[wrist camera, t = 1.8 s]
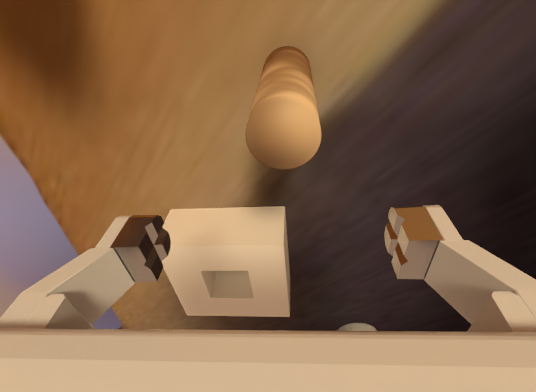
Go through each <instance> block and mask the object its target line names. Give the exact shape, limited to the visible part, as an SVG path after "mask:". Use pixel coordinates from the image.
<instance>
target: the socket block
mask: <svg viewBox="0 0 536 392" xmlns="http://www.w3.org/2000/svg"><path fill="white" fill-rule="evenodd" d="M162 228H163V229H165V230H166V231H168V233H169V236H170V240H171V245H170V251H169V254H168V256H167V257H166V258H165V259H164V260H162V264H163V268H164V270H165V272H166V274H167V276H168V278H169V280H170V282H171V284H172V286H173V288H174V290H175V292H176V294H177V296H178V298H179V300H180V302H181V304H182V306H183V308H184V310H185V312H186V314H187V315H191V316H258V317H290V270H289V256H288V242H287V229H286V215H285V206H273V207H235V208H198V209H171V210H170V212H169V214H168V216H167V218H166V220H165V222H164V225H163V227H162Z"/></svg>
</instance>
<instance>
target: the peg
mask: <svg viewBox="0 0 536 392" xmlns="http://www.w3.org/2000/svg"><path fill="white" fill-rule="evenodd" d="M246 142H247V146H248V148H249V150H250V152H251V153H252V155H253V156H254V157H255V158H256V159H257V160H258V161H259V162H261V163H262V164H264V165H266V166H269V167H271V168H275V169H291V168H295V167H298V166H301V165H303V164H304V163H306V162H307V161H309V160H310V159H311V158H312V157H313V156H314V154H315V153H316V152H317V150H318V148H319V145H320V142H321V128H320V122H319V116H318V110H317V104H316V99H315V93H314V87H313V81H312V75H311V69H310V64H309V61H308V59H307V57H306V56H305V54H304V53H303V52H302V51H300V50H299V49H297V48H295V47H290V46H285V47H280V48H278V49H276V50H274V51H273V52H272V53H271V54H270V55H269V56H268V57H267V59H266V61H265V64H264V67H263V71H262V74H261V78H260V81H259V85H258V88H257V92H256V95H255V99H254V103H253V106H252V110H251V113H250V117H249V120H248V124H247V128H246Z"/></svg>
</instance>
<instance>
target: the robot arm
mask: <svg viewBox="0 0 536 392" xmlns="http://www.w3.org/2000/svg"><path fill="white" fill-rule="evenodd" d="M388 217H389V220H390V223H389V224H387V225H386V228H385V244H386V248H387V251H388V253H390V254H391V255H392V256H393V259H392V265H393V268H394V271H395V273H396V276H397V279H425V280H424V281H425V282H427V283H428V284H429V285H430V286H431V287H432V288H433V289H434V290H435V291H436V292H437V293H438V294H439V295H440V296H442V297H443V298H444V299H445V300H446V301H447V302H448V303H449V304H450V305H451V306H452V307H453V308H454V309H455V310H457V311H458V312H459V313H460V314H461V315H462V316H463V317H464V318H465V319H466V320H467V321H468V322H469V323H470V324H472V325H471V327H470V328H469V330H468V331H467V332H442V331H284V330H146V329H95V328H94V327H93V326H92V324H93V323H94V322H95V321H96V320H97V319H98V318H99V317H100V316H101V315H102V314H103V313H104V312H106V311H107V310H108V309H109V308H110V307H111V306H112V305H113V304H114V303H115V302H116V301H117V300H118V299H119V298H120V297H121V296H122V295H123V294H124V293H125V292H126V291H127V290H128V289H129V288H130V287H131V286H132V285H133V284H134V282H150V281H157V280H158V278H159V276H160V273H161V271H162V268H163V264H162V260H164V259H165V258H166V257H167V256H168V254H169V251H170V245H171V240H170V236H169V233H168V231H166V230H165V229H163V228H162V227H163V225H164V222H163V219H162V217H161V216H159V215H133V216H119V217H117V218H115V220H114V221H113V223H112V224H111V226H110V227H109V228H108V230H107V231H106V233H105V234H104V236H103V237H102V238H101V240H100V241H99V243H98V244H97V246H96V247H95V248H93V249H89V250H87V251H86V252H84V253H83V254H81V255H80V256H78V257H76V258H75V259H73V260H72V261H70V262H69V263H67V264H66V265H64V266H63V267H61V268H59V269H58V270H56V271H55V272H53V273H51V274H50V275H48V276H47V277H45V278H44V279H42V280H40V281H39V282H37V283H36V284H34V285H33V286H31V287H30V288H28V289H27V290H25V291H23V292H22V293H21V294H20V295H19V296H18V297H17V298H16V300H15V301H14V302H13V303H12V305H11V306H10V307H9V308H8V309H7V311H6V312H5V313H4V314H3V315H2V317H1V318H0V392H536V279H534V278H532V277H530V276H529V275H527V274H525V273H524V272H522V271H520V270H519V269H517V268H515V267H513V266H512V265H510V264H508V263H507V262H505V261H503V260H501V259H500V258H498V257H496V256H495V255H493V254H491V253H489V252H488V251H486V250H484V249H483V248H481V247H479V246H478V245H476V244H474V243H472V242H471V241H469V240H463V239H462V237H461V236H460V234H459V233H458V231H457V230H456V228H455V227H454V225H453V224H452V222H451V221H450V219H449V218H448V216H447V215H446V213H445V212H444V210H443V208H442V207H441V206H439V205H428V206H412V207H391V209H390V210H389V214H388Z"/></svg>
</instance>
